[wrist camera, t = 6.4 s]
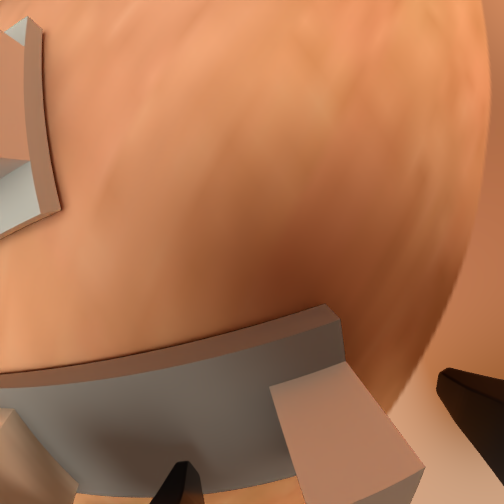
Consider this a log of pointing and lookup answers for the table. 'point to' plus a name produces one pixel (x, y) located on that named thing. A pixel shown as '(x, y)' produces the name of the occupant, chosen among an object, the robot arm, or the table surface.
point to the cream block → (29, 467)
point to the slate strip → (23, 131)
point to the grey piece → (223, 417)
